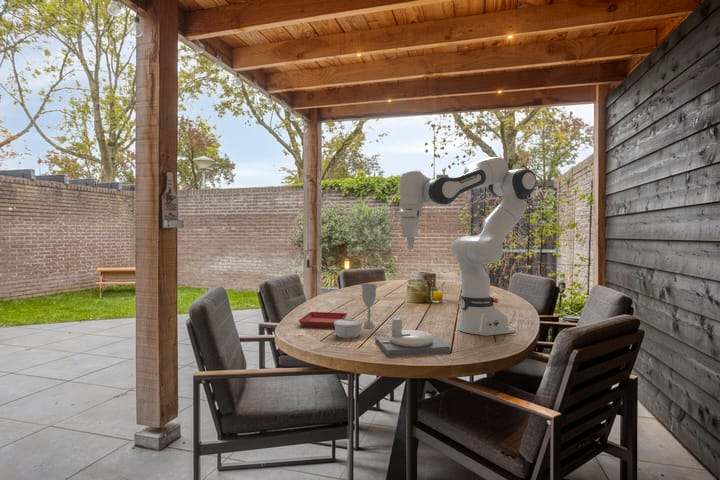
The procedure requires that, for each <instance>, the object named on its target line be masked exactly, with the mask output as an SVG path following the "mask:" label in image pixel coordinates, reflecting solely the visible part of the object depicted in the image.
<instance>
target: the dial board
mask: <svg viewBox="0 0 720 480" xmlns="http://www.w3.org/2000/svg"><path fill="white" fill-rule="evenodd" d="M432 335H433V343H432V344H430V345H427V346H421V347H407V346H400V345H396V344H393V343H392V342H391V341H390V335H388V336H375V339H374V341H375V342H374V343H375V344H376V345H377V346H378V347H379V349H380V350H381V351H382V352H383V353H384V354H385V356H386V357H397V356H398V357H401V356H414V355H417V356H418V355H430V354H432V355H433V354H447V353H451V346H450V345H448V344H447V343H445V342H444V341H442V340H441V339H440V338H438V336H436V335H434V334H432Z"/></svg>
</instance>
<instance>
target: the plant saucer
mask: <svg viewBox="0 0 720 480" xmlns="http://www.w3.org/2000/svg"><path fill="white" fill-rule="evenodd" d="M346 317H348V313H346V312H345V313H344V312H326V311H325V312H324V311H309V312H308V313H307V314H305V315H304V316H302V317H301V318H299V319H298V323H300V324H301V326H303V327H313V328H332V329H335V325H334V322H335V321H337V320H342V319H346Z"/></svg>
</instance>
